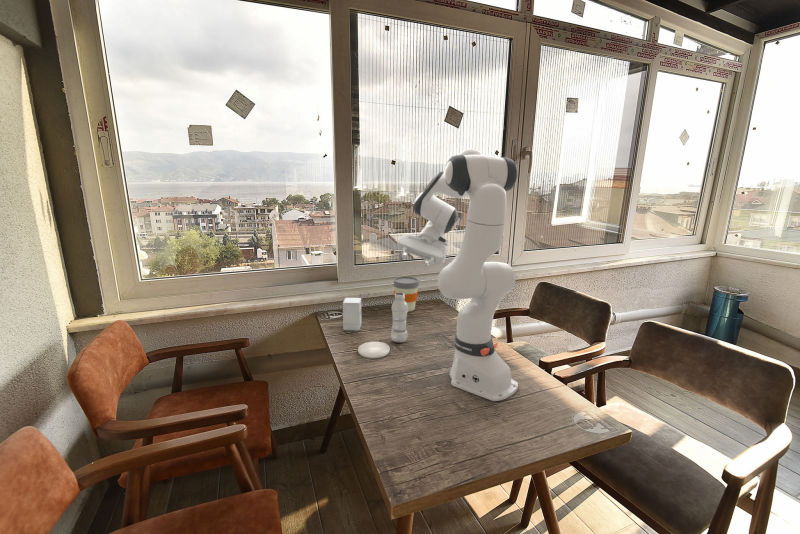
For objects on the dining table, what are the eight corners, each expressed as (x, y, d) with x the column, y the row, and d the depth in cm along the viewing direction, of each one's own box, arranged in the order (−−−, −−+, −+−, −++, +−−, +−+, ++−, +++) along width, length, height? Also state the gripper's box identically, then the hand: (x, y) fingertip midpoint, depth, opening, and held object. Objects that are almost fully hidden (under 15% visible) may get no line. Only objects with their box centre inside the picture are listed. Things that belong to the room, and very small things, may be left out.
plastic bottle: (391, 337, 154) (391, 291, 150) (407, 337, 154) (408, 291, 149) (390, 344, 148) (390, 296, 143) (407, 344, 148) (408, 296, 143)
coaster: (396, 351, 142) (396, 349, 142) (371, 361, 134) (371, 358, 134) (376, 341, 151) (376, 338, 151) (352, 350, 143) (351, 347, 143)
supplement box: (360, 330, 161) (359, 303, 158) (342, 330, 161) (342, 302, 158) (362, 324, 168) (361, 297, 165) (345, 323, 168) (344, 297, 165)
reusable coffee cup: (396, 313, 181) (396, 284, 177) (391, 305, 193) (391, 277, 189) (421, 311, 184) (422, 282, 180) (414, 303, 196) (414, 276, 192)
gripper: (405, 226, 153) (390, 246, 144) (452, 242, 148) (439, 264, 138) (404, 238, 157) (389, 257, 148) (449, 254, 152) (437, 275, 143)
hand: (414, 261), depth 143 cm, fingers open, 8 cm apart
